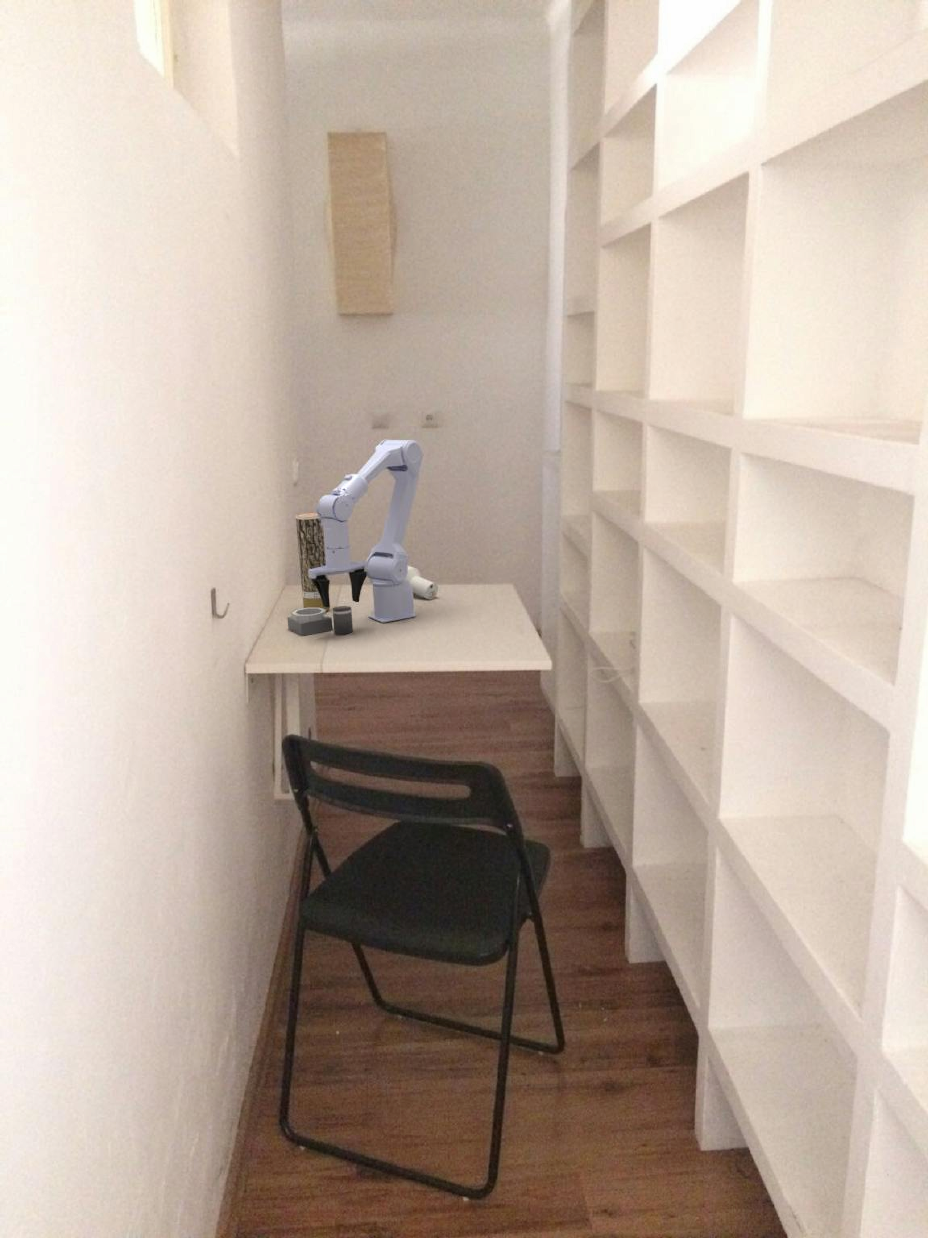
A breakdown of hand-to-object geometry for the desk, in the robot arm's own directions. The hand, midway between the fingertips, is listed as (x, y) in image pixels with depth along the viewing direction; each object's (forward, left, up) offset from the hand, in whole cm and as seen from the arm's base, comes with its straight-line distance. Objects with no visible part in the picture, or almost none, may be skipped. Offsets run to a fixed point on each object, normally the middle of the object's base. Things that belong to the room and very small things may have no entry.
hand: (341, 603), depth 228 cm
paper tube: (-4, -24, -7) cm, 25 cm away
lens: (0, 0, -7) cm, 7 cm away
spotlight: (-32, -21, -7) cm, 38 cm away
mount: (+5, -8, -7) cm, 12 cm away
